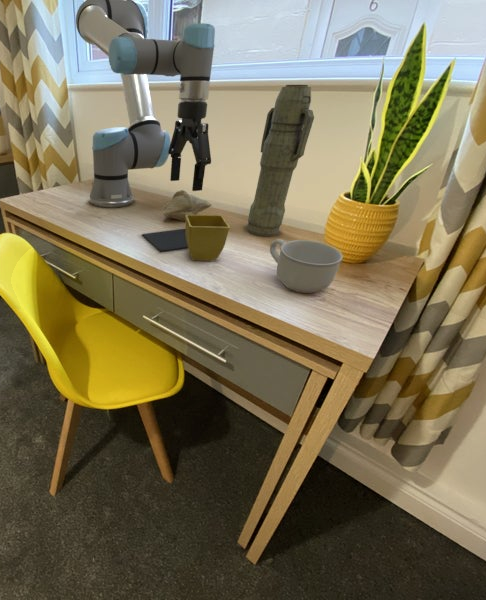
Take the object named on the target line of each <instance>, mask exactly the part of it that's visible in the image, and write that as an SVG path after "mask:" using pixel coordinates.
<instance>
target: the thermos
mask: <svg viewBox="0 0 486 600" xmlns="http://www.w3.org/2000/svg"><path fill="white" fill-rule="evenodd" d="M311 103H312V87H311V86H309V85H308V84H286V85H285V86H282V87H281V89H280V91H279V92H278V95H277V97H276V99H275V102H274V107H271V108H270V110H269V111H268V112H267V115H266V120H265V123H264V124H265V125H264V130H263V136H262V138H261V139H262V140H261V146H260V153H261V157H260V161H259V166H260V170H259V176H258V180H257V183H256V190H255V194H254V199H253V202H251V205H250V208H249V213H248V217H247V226H246V231H247V232H248V233H250V234H252V235H254V236H259V237H276V236H278V235H279V232H280V228H281V226H282V223H283V221H284V216H285V212H286V207H285V203H286V200H287V196H288V193H289V189H290V185H291V181H292V178H293V174H294V170H296V168H297V166H298V163H299V160H300V159H301V158H302V157H303V156H304V154H305V150H306V146H307V144H308V140H309V136H310V134H311V130H312V127H313V123H314V120H315V115H314V112H313V110H312V109H310V108H311V107H310V106H311Z"/></svg>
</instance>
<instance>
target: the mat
mask: <svg viewBox="0 0 486 600" xmlns="http://www.w3.org/2000/svg"><path fill="white" fill-rule="evenodd" d="M141 236H142V237H143V238H144V239H145V240H146V241H147V242H148V243H150V244H151V245H152V246H153V248H155V249H156V250H157V251H158V252H159V253H165V252H172V251H179V250H185V249H189V248H188V245H187V241H186V235H185V228H179V229H171V230H165V231H164V230H163V231H156V232H148V233H142V234H141Z"/></svg>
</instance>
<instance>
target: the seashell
mask: <svg viewBox="0 0 486 600" xmlns="http://www.w3.org/2000/svg"><path fill="white" fill-rule="evenodd" d="M212 206H213V204H212V203H210V202H209V201H207V200H205V199H202V198H199V197H198V196H195V195H193V194H189V193H188V192H187V191H185V190H184V189H183V190H182V189H181V190H177V191H176V192H175V193H174V194H173V196H172V198H171V199H170V200H169V201H168V202H166V204H165V205H164V208H163V212H162V214H163V215H165V216H167V217H169V218H171V219H173V220H177V221H180V222H182V221H184V222H185V215H198V213H202V212H203V211H205V210H207V209H208V208H211V207H212Z"/></svg>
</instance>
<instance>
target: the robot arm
mask: <svg viewBox="0 0 486 600" xmlns="http://www.w3.org/2000/svg"><path fill="white" fill-rule="evenodd" d="M75 26H76V27H75V28H76V30H77V32H78V34H79V36H80V37H81V38H82V40H83V41H85V42H86V43H87V44H89V45H94V46H95V47H97V48H98V49H99V50H100V51H101V52H103V53H104V54H105V55H106V56H107V57H108V63H109V66H110V69H111V71H112V72H113V73H115V74H119V75H120V80H121V85H122V91H123V94H124V100H125V105H126V110H127V116H128V121H129V126H128V128H127V127H126V126H125V127H124V126H118V127H109V128H104V129H99V130H98V131H96V132H94V133H93V135H92V148H91V150H92V161H93V183H92V187H91V191H90V194H89V201H90V202H89V203H90V204H91V205H93V206H96V207H100V208H123V207H126V206H129V205H131V204H133V202H134V195H133V192H132V189H131V185H130V182H129V170H143V169H154V168H160V167H162V166H164V165H165V164H166V163H167V161H168V158H169V157H170V158H171V167H170V179H169V180H170V182H176V181H180V177H181V174H180V173H181V165H182V164H181V163H182V152H183V150H184V149H185V146H186V144H187V143H189V144H191V148H192V150H193V151H192V152H193V156H194V158H195V164H194V169H193V179H192V186H191V187H192V188H191V190H192V191H193V192H200V191H203V187H204V186H203V185H204V178H205V171H206V166H207V165H211V164H212V156H211V148H210V137H209V123H207V122H205V123H204V122H203V123H202V120H203V119H206V117H207V113H208V112H207V111H208V110H207V109H208V102H207V100H208V99H209V95H210V84H211V73H212V67H213V66H212V65H213V58H214V51H215V50H214V49H215V38H216V37H215V35H216V29H215V28H216V27H214V25H213V24H211V23H202V22H200V23H189V24H187V25H186V26H184V29H183V34H182V38H181V39H178V40H173V39H172V40H170V39H156V38H148V36H149V35H148V34H149V17H148V12H147V10H146V8H145V6H144V5H143V4H142V2H139V1H136V0H84V1H83V2H82V3H81V4H80V5H79V7H78V9H77V12H76V15H75ZM147 75H149V76H164V77H172V78H173V77H176V76H179V86H178V90H179V93H178V95H179V96H178V99H179V100H180V101H179V102H178V104H177V118H178V119H181V120H175V123H174V129H173V134H172V137H171V136H170V133H169V132H168V131H167V130H164V129H163V130H162V127H161V123H160V121H159V120H158V119H156V118H155V114H154V109H153V108H154V107H153V102H152V98H151V97H152V96H151V92H150V87H149V82H148V76H147ZM169 155H170V156H169Z"/></svg>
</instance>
